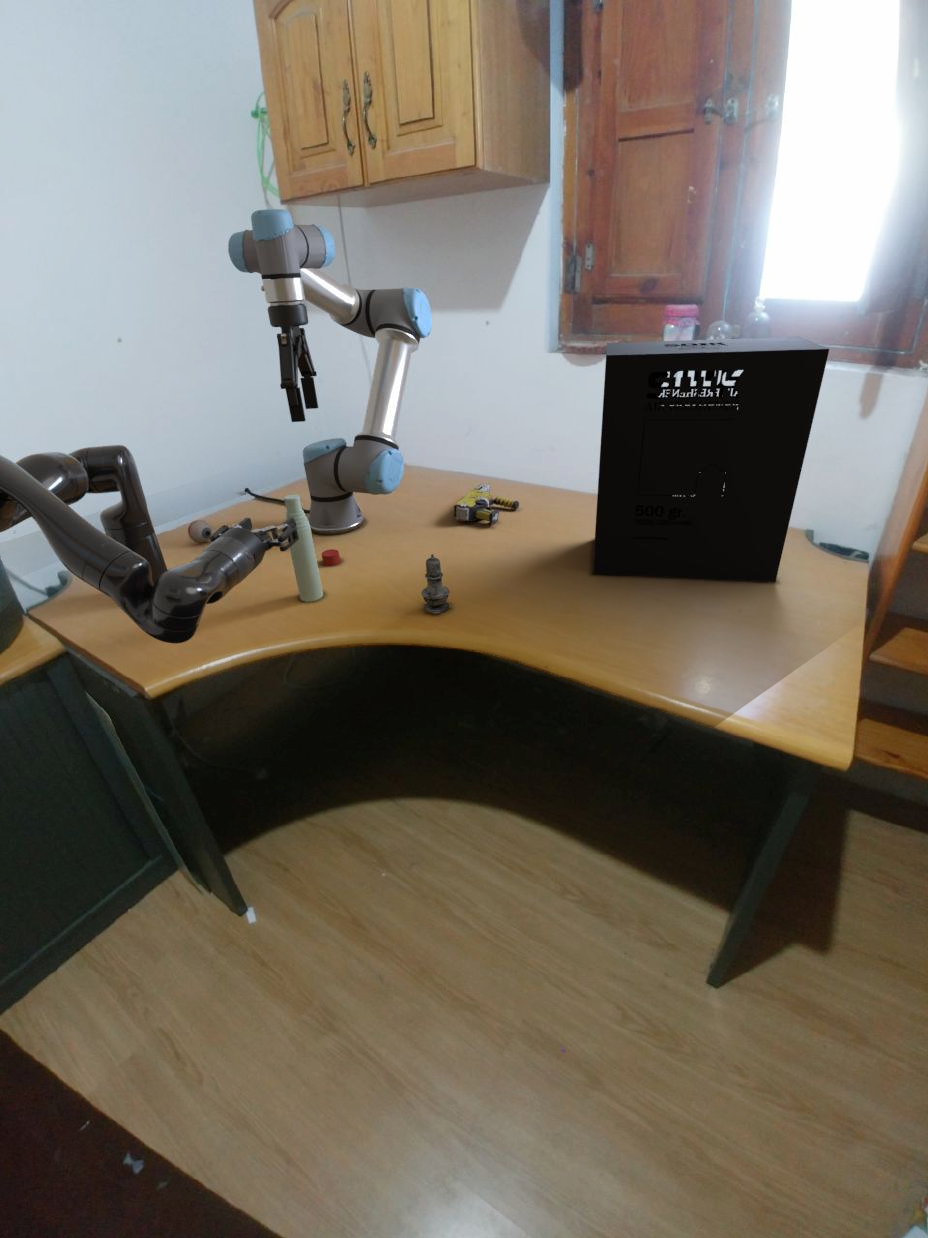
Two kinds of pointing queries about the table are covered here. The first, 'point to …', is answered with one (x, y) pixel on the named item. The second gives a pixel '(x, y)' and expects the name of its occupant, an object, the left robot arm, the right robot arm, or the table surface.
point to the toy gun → (480, 505)
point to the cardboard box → (703, 455)
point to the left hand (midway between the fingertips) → (271, 522)
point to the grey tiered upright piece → (435, 588)
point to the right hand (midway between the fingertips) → (305, 414)
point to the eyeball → (200, 531)
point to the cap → (331, 557)
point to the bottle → (303, 553)
